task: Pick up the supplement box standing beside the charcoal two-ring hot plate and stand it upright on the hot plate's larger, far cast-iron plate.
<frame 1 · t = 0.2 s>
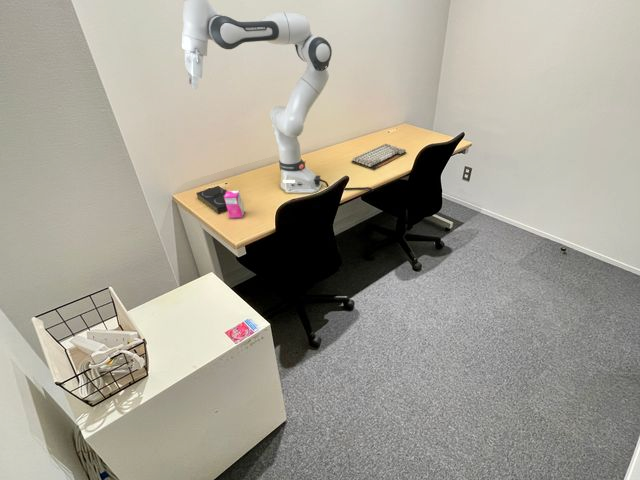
hand: (192, 86, 132), 52 cm above the table, tool tilted 20°, fingers open, 8 cm apart
supplement box: (237, 215, 154), on the table
hot plate: (219, 201, 164), on the table
mechanical keyboard: (379, 158, 214), on the table
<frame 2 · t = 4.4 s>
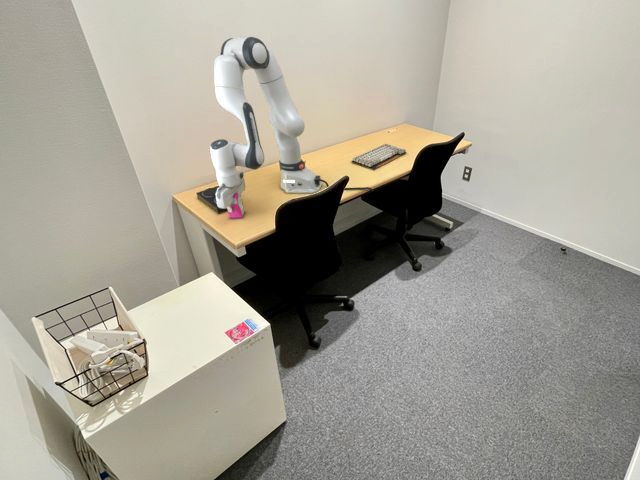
hand: (235, 207, 152), 4 cm above the table, tool pointing down, fingers closed on supplement box, 6 cm apart
supplement box: (237, 215, 154), on the table, touching gripper
everything else where it was.
when the fingers open (8 cm above the table, at t = 11.6 s): supplement box stays where it is, resting on hot plate.
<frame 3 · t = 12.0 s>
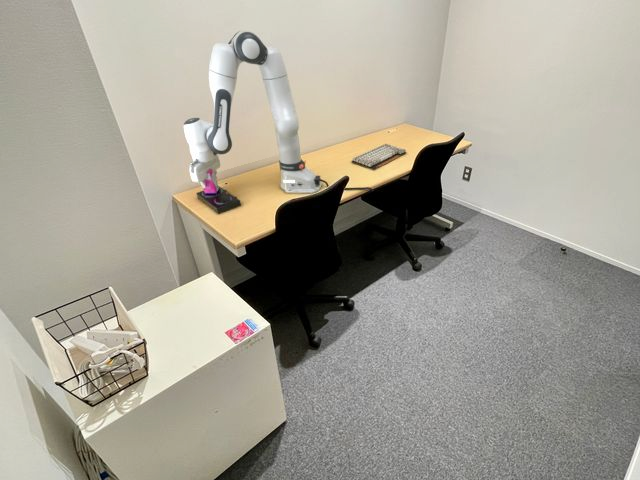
hand: (209, 183, 162), 8 cm above the table, tool pointing down, fingers open, 8 cm apart
supplement box: (212, 191, 165), point 4 cm above the table, touching hot plate
everything else where it was.
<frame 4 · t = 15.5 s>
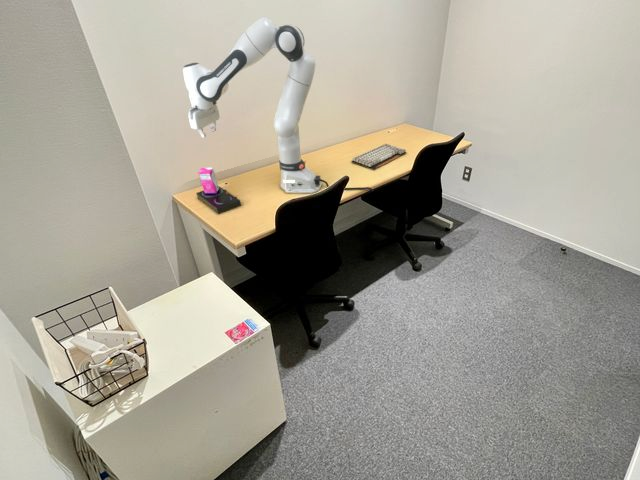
hand: (208, 134, 162), 27 cm above the table, tool pointing down, fingers open, 8 cm apart
nothing on the table moved.
at the end: supplement box 0.1 cm from the target spot, point 3.5 cm above the table; supplement box tilted 0°; the gripper is holding nothing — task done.
